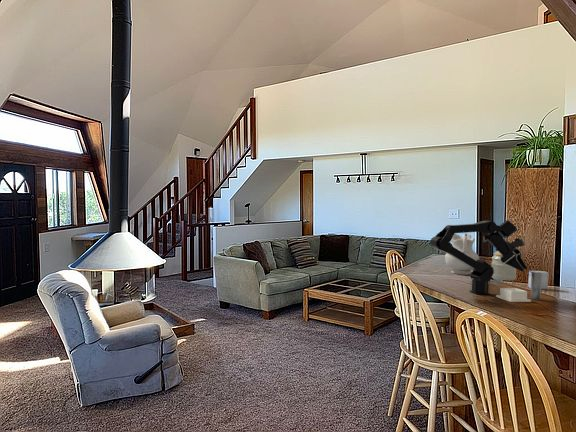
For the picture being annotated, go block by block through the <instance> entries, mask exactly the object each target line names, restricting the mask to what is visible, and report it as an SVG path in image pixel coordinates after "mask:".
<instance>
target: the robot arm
mask: <svg viewBox="0 0 576 432" xmlns="http://www.w3.org/2000/svg"><path fill="white" fill-rule="evenodd" d="M517 231H518V229H517V226H515V225H514V224H513V223H512V222H511V221H510V220H508V219H507V220H504V221H503V223H500V224H499V225H498V224H497V223H496V222H495V221H493V220H482V221H478V222H475V223H474V222H473V223H465V224H447V225H445V226H444V227H443V228H442V229H441V230H440V231H439V232H438V233H437V234H436V235H435V236H433V237H432V238H431V239H430V241H429V244H430V247H431V248H432V249H435V250H437V251H439V252H442V253H445V254H446V253H447V254H449V255H451V256H452V257H454V258H456V259H457V260H459V261H461V262H462V263H464V264H466V265H467V266H469V267H470V268H471V269H472V270H471V274H469V277H470V279H472V280H471V290H469V293H473V294H475V295H490V292H489V286H490V284H489V282H491V279H492V278H491V277H492V276H493V274H494V269H493V268H492V264H490V263H487V261H485V260H482V259H479V260H478V259H477V261H476V260H474V259H472V258H471V257H469V256H467V255H466V254H464V253H463V252H461V251H459V250H458V249H456V248H454V247H453V246H452V241H451V239H452V237H453V235H454V234H465V233H466V234H468V233H483V234H484V233H485V234H486V235H483V237H482V238H483V240H482V243H485V242H489V243H490V244H491V245H492V246H493V247H494V249H495V252H497V251H498V252H499V253H500V254H501V255H502V256H501V261H502V262H503V263H505V262H506V261H507V262H506V263H505V264H507V265H509V266H512V267H514V268H516V270H518V271H520V272H524V271H525V270H527V269H528V266H527V265H526V263H525V261H524V260H523V258H522V256H523V255H522V254H523V253H522V250H520V249H519V247H524V246H526V243H525V240H524V239H523V238H520V237H517V238H515V239H514V241H511V242H510V241H509V240H506V239H508V238H509V237H511V236H512V235H513V234H515V233H517Z"/></svg>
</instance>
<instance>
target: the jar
mask: <svg viewBox="0 0 576 432" xmlns="http://www.w3.org/2000/svg"><path fill="white" fill-rule="evenodd" d="M501 256H502V255H501V254H500V253H499V252H498V251H495V252H493V256H492V257H491V259H492V262H491V264H490V265H492V266H491V267H492V268H493V269H494V274H493V276H492V277H491V279H494V280H499V281H515V280H516V278H517V274H516V273H517V269H516V268H514V267H512V266H509V265H507V264H505V263H506V262H507V261H506V262H505V263H503V262H502V261H501Z"/></svg>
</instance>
